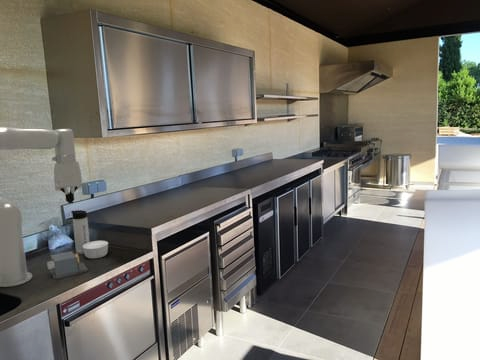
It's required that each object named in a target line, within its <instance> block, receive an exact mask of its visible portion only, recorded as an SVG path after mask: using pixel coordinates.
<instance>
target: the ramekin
mask: <svg viewBox="0 0 480 360" xmlns="http://www.w3.org/2000/svg"><path fill="white" fill-rule="evenodd" d="M82 248H83V250H84V254H83V255H84V256H85V257H86V258H88V259H91V260H92V259H101V258H103V257H105V256H106V255H107V254H108V251H109V250H108V249H109V242H108V241H106V240H94V241H90V242H88V243H86V244H84V245H83V246H82Z"/></svg>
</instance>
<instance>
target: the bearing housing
mask: <svg viewBox="0 0 480 360" xmlns="http://www.w3.org/2000/svg"><path fill="white" fill-rule="evenodd" d="M74 254H75V253H74V252H73V251H72V250H71V251H67V252H66V251H65V252H60V253H56V254H51V255H50V259H51V260H50V261H54V267H55V268H53V269H49V272H50V273H49V274H50V275H51V277H52V279H53V280H57V279H62V278H66V277H70V276H71V277H72V276H74V275H79V273H80V274H83V272H84V273H88V272H89V269H88V267H87V266H86V265H85V264H84V262H80V265H78V266H77V258H76V256H75V255H74ZM87 271H88V272H87Z"/></svg>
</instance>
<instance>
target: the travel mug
mask: <svg viewBox="0 0 480 360" xmlns="http://www.w3.org/2000/svg"><path fill="white" fill-rule="evenodd" d="M87 213H88V212H87V211H86V210H77V209H76V210H71V214H72V215H71V216H72V226H73V234H74V244H75V245H74V246H75V254H76V253H78V255H85V254H84V250H83V248H82V246H83V245H84V244H86V243H88V242H91V241H90V231H89V222H88V220H89V219H88V214H87Z"/></svg>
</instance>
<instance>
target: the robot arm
mask: <svg viewBox="0 0 480 360" xmlns="http://www.w3.org/2000/svg"><path fill="white" fill-rule="evenodd" d="M73 131H74V130H72V129H71V128H58V129H45V128H44V129H43V128H42V129H37V128H36V129H35V128H34V129H33V128H32V129H31V128H28V129H27V128H17V127H11V126H10V127H9V126H0V151H1V150H4V151H5V150H6V151H10V150H12V151H13V150H52V149H54V152H55V153H54V154H55V155H54V157H51V161H52V162H53V161H54V162H55V163H54V167H53V168H54V169H53V174H54V175H53V176H54V177H53V178H54V180H53V181H54V190H55V191H58V192H62V193H64V197H65V202H67V204H70V205H71V204H74V201H75V192H76V191H77V190H79V189H81V188H83V177H82V173H81V167H80V163H79V161H77V159H76V149H75V147H76V146H75V139H74V132H73ZM68 188H70V189H68ZM22 223H23V219H22V211H21V210H20V208H19V207H18V205H17V204H16V203H14V202H12V201H10V200H9V199H7V198H5V197H3V196H1V195H0V288H9V287H10V288H11V287H15V286H19V285H22V284H25V283H27V282H29V281H30V280H31V279H32V278H33V274H32V273H31V272H29V271H28V267H27V261H26V260H27V259H26V252H25V245H24V243H25V242H24V237H23V236H24V235H23V227H22V225H23V224H22Z"/></svg>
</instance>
